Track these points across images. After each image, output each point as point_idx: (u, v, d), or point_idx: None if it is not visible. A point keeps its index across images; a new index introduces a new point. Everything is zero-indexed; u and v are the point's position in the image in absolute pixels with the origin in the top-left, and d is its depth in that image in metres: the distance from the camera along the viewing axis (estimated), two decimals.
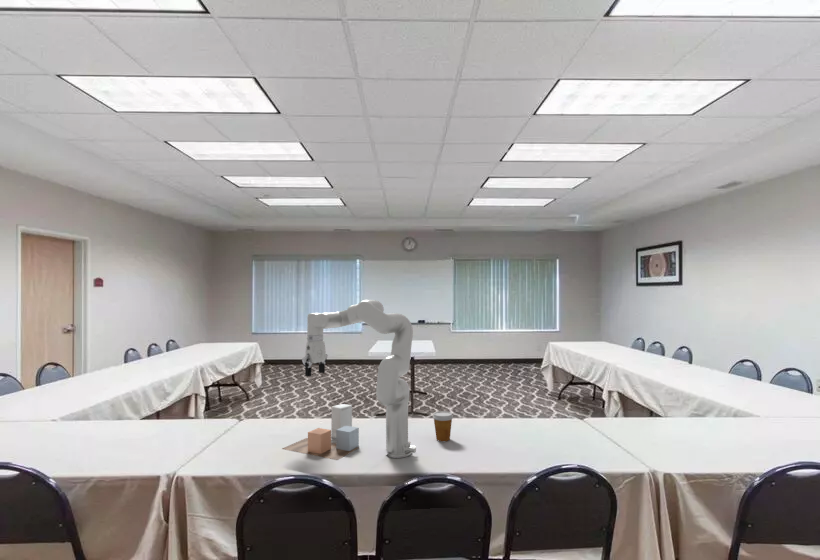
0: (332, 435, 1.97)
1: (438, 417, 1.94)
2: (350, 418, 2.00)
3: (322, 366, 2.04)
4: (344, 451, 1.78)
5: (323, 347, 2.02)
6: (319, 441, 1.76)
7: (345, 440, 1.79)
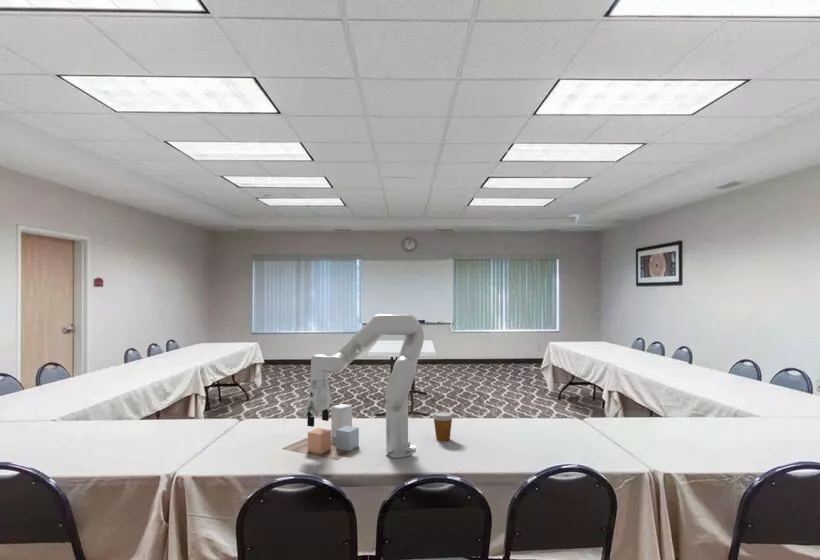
0: (332, 435, 1.97)
1: (438, 417, 1.94)
2: (350, 418, 2.00)
3: (326, 413, 1.84)
4: (344, 451, 1.78)
5: (328, 393, 1.82)
6: (319, 441, 1.76)
7: (345, 440, 1.79)
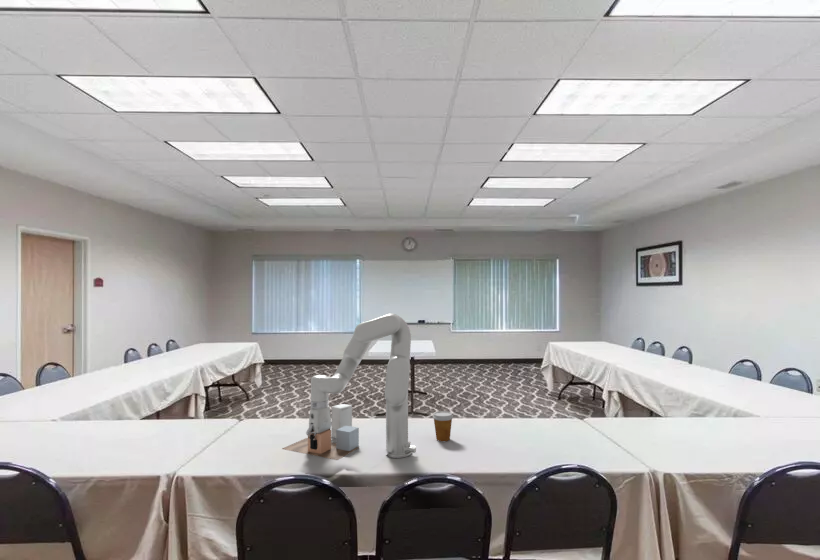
0: (332, 435, 1.97)
1: (438, 417, 1.94)
2: (350, 418, 2.00)
3: None
4: (344, 451, 1.78)
5: (328, 413, 1.82)
6: (319, 441, 1.76)
7: (345, 440, 1.79)
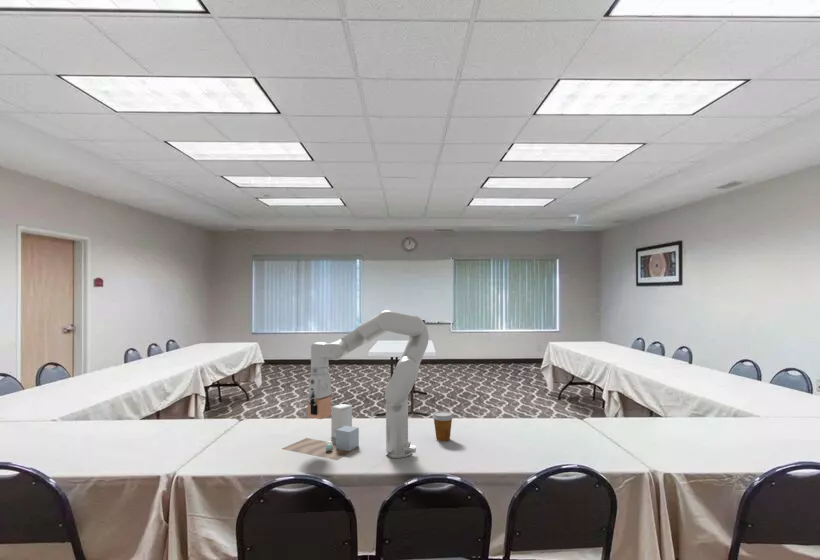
0: (332, 435, 1.97)
1: (438, 417, 1.94)
2: (350, 418, 2.00)
3: None
4: (344, 451, 1.78)
5: (328, 380, 1.83)
6: (319, 406, 1.76)
7: (345, 440, 1.79)
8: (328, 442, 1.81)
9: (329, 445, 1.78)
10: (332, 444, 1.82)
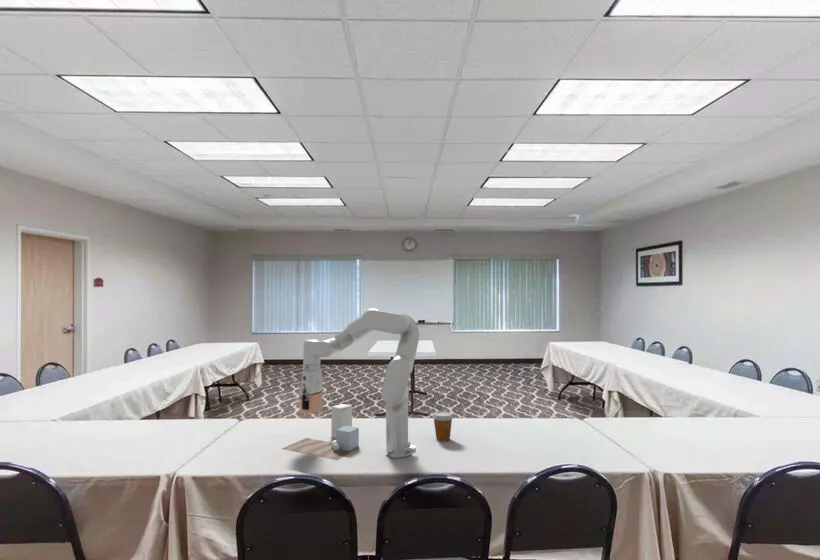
0: (332, 435, 1.97)
1: (438, 417, 1.94)
2: (350, 418, 2.00)
3: None
4: (344, 451, 1.78)
5: (320, 376, 1.89)
6: (311, 402, 1.82)
7: (345, 440, 1.79)
8: None
9: (338, 449, 1.78)
10: None
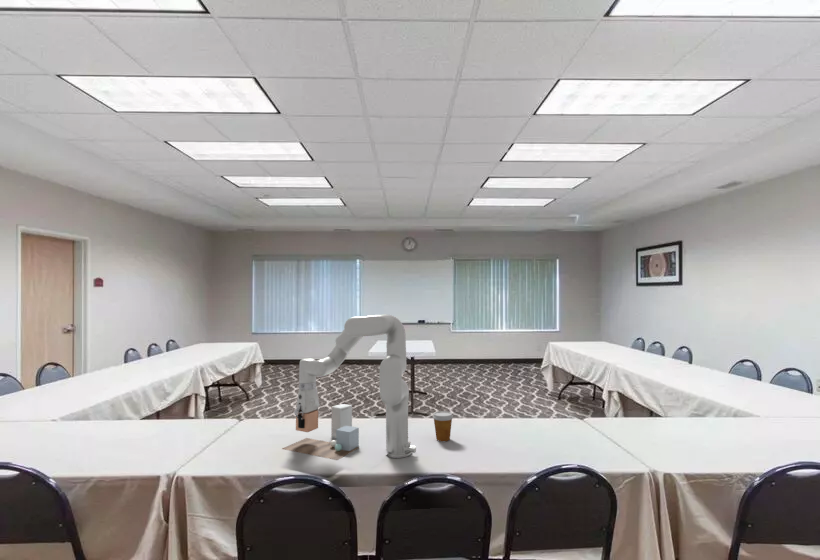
0: (332, 435, 1.97)
1: (438, 417, 1.94)
2: (350, 418, 2.00)
3: None
4: (344, 451, 1.78)
5: (316, 395, 1.92)
6: (306, 420, 1.85)
7: (345, 440, 1.79)
8: (335, 441, 1.83)
9: (339, 450, 1.78)
10: (334, 446, 1.82)
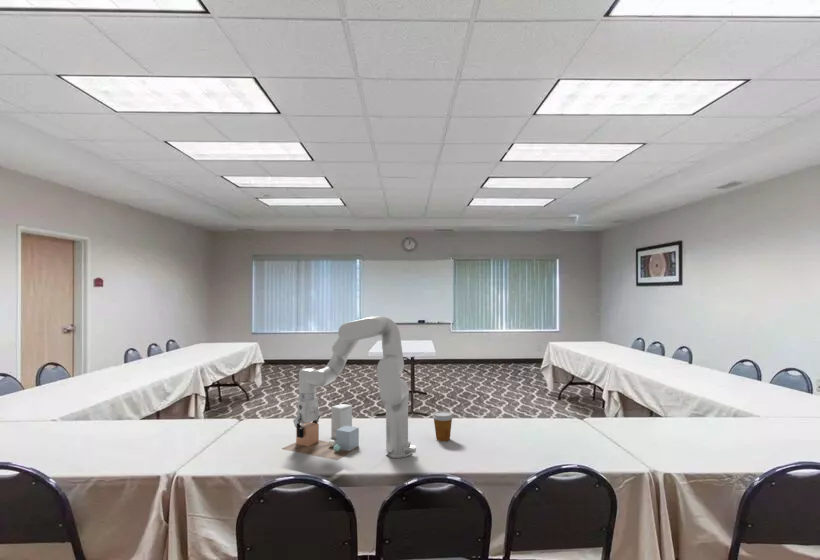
0: (332, 435, 1.97)
1: (438, 417, 1.94)
2: (350, 418, 2.00)
3: None
4: (344, 451, 1.78)
5: (316, 405, 1.91)
6: (307, 434, 1.85)
7: (345, 440, 1.79)
8: (333, 440, 1.84)
9: None
10: (333, 444, 1.83)
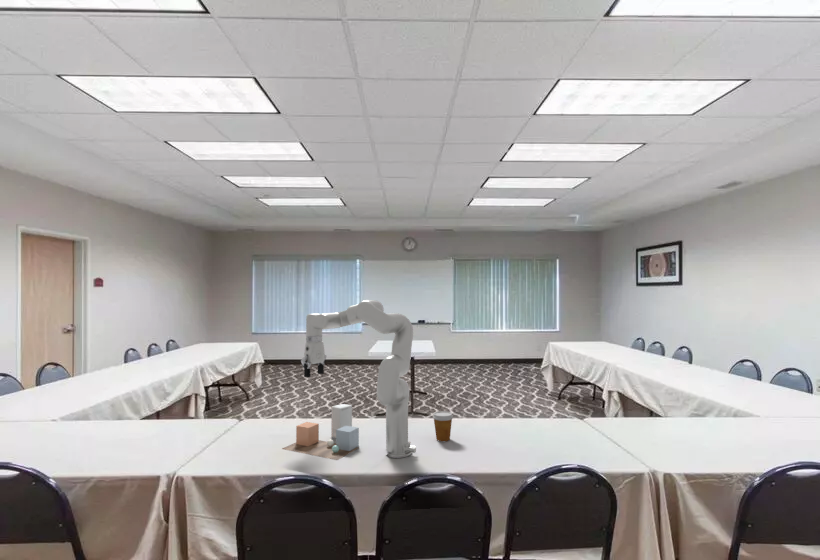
0: (332, 435, 1.97)
1: (438, 417, 1.94)
2: (350, 418, 2.00)
3: (321, 367, 2.03)
4: (344, 451, 1.78)
5: (322, 348, 2.01)
6: (307, 434, 1.85)
7: (345, 440, 1.79)
8: None
9: None
10: (331, 442, 1.83)
